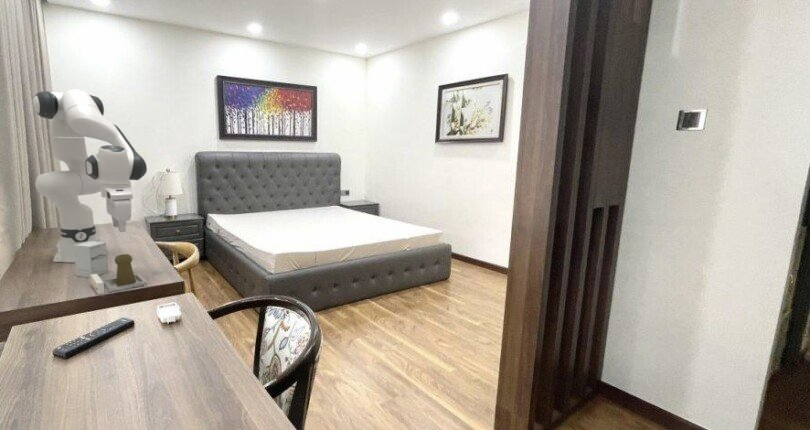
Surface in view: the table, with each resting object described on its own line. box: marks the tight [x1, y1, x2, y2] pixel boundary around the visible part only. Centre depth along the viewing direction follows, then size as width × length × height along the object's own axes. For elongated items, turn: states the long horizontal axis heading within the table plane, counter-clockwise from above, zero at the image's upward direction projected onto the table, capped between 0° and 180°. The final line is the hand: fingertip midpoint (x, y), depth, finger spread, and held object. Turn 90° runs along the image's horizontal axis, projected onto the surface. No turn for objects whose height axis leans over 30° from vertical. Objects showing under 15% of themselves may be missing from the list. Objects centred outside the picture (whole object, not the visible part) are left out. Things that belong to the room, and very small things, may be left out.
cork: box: [114, 253, 136, 286], centre depth 146 cm, size 6×6×11 cm
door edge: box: [89, 274, 105, 295], centre depth 142 cm, size 12×2×4 cm, turn 46°
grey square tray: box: [102, 273, 148, 293], centre depth 147 cm, size 12×12×2 cm
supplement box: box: [74, 241, 109, 279], centre depth 156 cm, size 7×7×13 cm
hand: (119, 229), depth 144 cm, fingers open, 8 cm apart
